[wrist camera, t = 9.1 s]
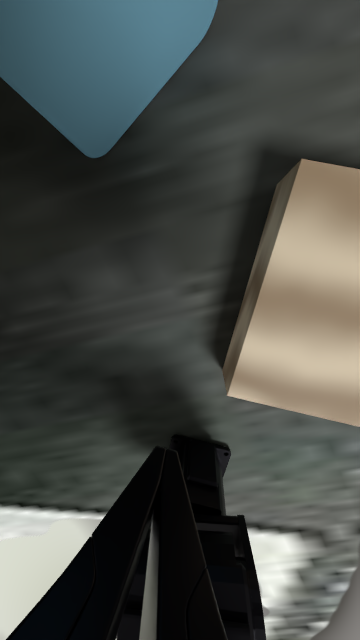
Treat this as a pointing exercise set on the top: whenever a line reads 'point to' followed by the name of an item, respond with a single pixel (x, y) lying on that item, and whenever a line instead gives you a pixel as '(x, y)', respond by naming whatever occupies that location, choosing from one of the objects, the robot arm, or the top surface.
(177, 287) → the top surface
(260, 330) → the beige shallow box
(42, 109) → the data package
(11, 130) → the top surface
